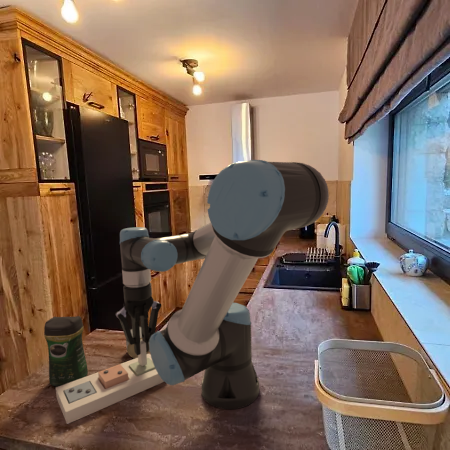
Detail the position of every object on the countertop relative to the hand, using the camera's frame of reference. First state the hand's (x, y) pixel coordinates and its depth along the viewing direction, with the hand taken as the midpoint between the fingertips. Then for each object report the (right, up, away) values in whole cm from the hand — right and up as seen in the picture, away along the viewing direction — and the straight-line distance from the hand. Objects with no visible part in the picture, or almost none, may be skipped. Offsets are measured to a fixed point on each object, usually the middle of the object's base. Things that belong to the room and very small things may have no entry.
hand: (142, 363), depth 91 cm
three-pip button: (-13, -6, -10) cm, 17 cm away
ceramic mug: (-3, -3, +14) cm, 15 cm away
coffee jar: (-21, -5, 0) cm, 22 cm away
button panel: (-6, -5, -5) cm, 9 cm away
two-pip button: (-6, -3, -5) cm, 9 cm away
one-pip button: (0, -4, 0) cm, 4 cm away
